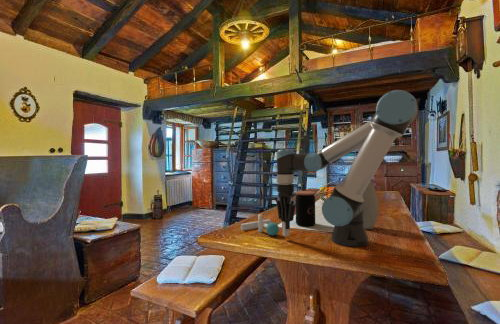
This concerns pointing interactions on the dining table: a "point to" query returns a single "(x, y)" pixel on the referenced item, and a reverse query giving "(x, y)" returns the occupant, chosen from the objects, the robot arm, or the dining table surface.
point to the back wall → (253, 224)
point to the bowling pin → (370, 206)
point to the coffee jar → (305, 208)
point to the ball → (272, 229)
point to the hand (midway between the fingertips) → (285, 235)
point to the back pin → (260, 223)
